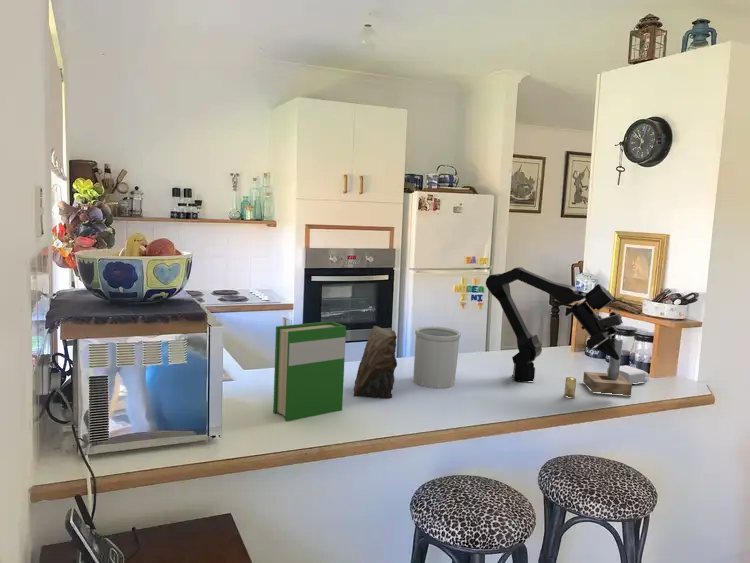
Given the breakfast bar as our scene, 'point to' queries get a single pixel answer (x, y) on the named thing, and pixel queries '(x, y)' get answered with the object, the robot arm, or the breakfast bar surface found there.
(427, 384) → the utensil holder
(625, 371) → the charger
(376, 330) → the brown rock
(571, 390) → the short brass pin
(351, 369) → the breakfast bar surface
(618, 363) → the long steel pin
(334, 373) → the hardback book
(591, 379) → the walnut hole block
